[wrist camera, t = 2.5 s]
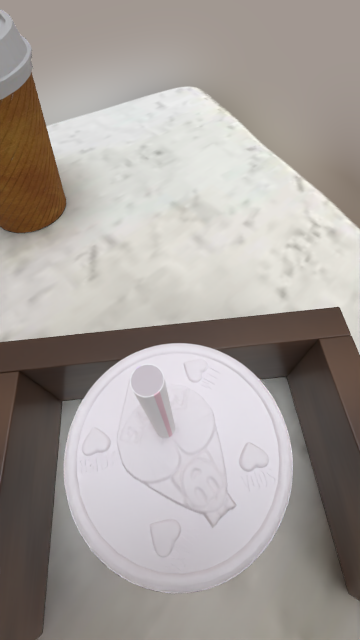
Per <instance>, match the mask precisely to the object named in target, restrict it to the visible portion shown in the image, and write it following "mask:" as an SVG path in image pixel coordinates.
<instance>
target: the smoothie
mask: <svg viewBox="0 0 360 640" xmlns="http://www.w3.org/2000/svg"><path fill="white" fill-rule="evenodd" d="M292 478H293V459H292V449H291V443H290V438H289V434H288V430H287V426H286V424H285V421H284V418H283V416H282V413H281V411H280V409H279V407H278V405H277V403H276V402H275V400H274V398H273V396H272V395H271V394H270V392H269V391H268V389H267V388H266V387H265V385H264V384H263V383H262V382H261V381H260V379H259V378H258V377H257V376H256V375H255V374H254V373H253V372H251V371H250V370H249V369H248V368H247V367H245V366H244V365H243V364H241V363H240V362H238V361H237V360H235V359H234V358H232V357H230V356H228V355H226V354H224V353H222V352H220V351H217V350H215V349H212V348H209V347H205V346H201V345H195V344H186V343H171V344H162V345H157V346H153V347H149V348H146V349H143V350H140V351H138V352H135V353H133V354H131V355H129V356H127V357H126V358H124V359H122V360H121V361H119V362H118V363H116V364H115V365H114V366H112V367H111V368H110V369H109V370H107V371H106V372H105V373H104V374H103V375H102V376H101V377H100V378H99V379H98V380H97V381H96V382H95V383H94V385H93V386H92V387H91V388H90V390H89V391H88V393H87V394H86V396H85V397H84V398H83V400H82V402H81V404H80V406H79V407H78V409H77V412H76V414H75V416H74V418H73V421H72V424H71V426H70V429H69V433H68V437H67V441H66V447H65V454H64V484H65V492H66V497H67V501H68V505H69V508H70V512H71V515H72V517H73V520H74V522H75V524H76V527H77V529H78V530H79V532H80V534H81V536H82V538H83V539H84V541H85V542H86V544H87V545H88V547H89V548H90V550H91V551H92V552H93V553H94V554H95V555H96V556H97V558H98V559H99V560H100V561H101V562H102V563H103V564H105V565H106V566H107V567H108V568H109V569H110V570H112V571H113V572H114V573H116V574H117V575H118V576H120V577H122V578H123V579H125V580H127V581H129V582H131V583H133V584H135V585H138V586H140V587H143V588H146V589H149V590H153V591H157V592H164V593H191V592H198V591H202V590H206V589H210V588H213V587H215V586H218V585H220V584H223V583H225V582H226V581H228V580H230V579H232V578H234V577H235V576H237V575H238V574H240V573H241V572H242V571H244V570H245V569H247V568H248V567H249V566H250V565H251V564H252V563H253V562H254V561H255V560H256V559H257V558H258V557H259V556H260V555H261V554H262V553H263V551H264V550H265V549H266V548H267V546H268V545H269V543H270V542H271V540H272V539H273V537H274V536H275V534H276V532H277V530H278V528H279V527H280V524H281V522H282V519H283V517H284V515H285V512H286V509H287V505H288V502H289V497H290V493H291V487H292Z"/></svg>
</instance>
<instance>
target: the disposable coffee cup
mask: <svg viewBox="0 0 360 640" xmlns="http://www.w3.org/2000/svg"><path fill="white" fill-rule="evenodd" d="M31 58H32V49H31V46H30V44H29V43H28V41H27V40H26V38H24V37H22V36H21V35H20V33H19V32H18V30H17V28H16V26H15V24H14V22H13V21H12V19H11V17H10V15H8V14H7V13H5V12H4V11H3V10H1V9H0V227H2V228H3V229H5V230H8V231H10V232H16V233H25V232H32V231H36V230H39V229H42V228H44V227H46V226H48V225H50V224H51V223H53V222H54V221H55V220H57V219H58V218H59V217H60V215H61V214H62V213H63V211H64V209H65V206H66V198H65V195H64V191H63V188H62V184H61V180H60V176H59V173H58V169H57V165H56V162H55V157H54V154H53V150H52V147H51V143H50V139H49V135H48V131H47V128H46V124H45V120H44V117H43V113H42V110H41V105H40V102H39V99H38V94H37V91H36V87H35V83H34V80H33V77H32V72H31V71H32V67H33V66H32V63H31Z"/></svg>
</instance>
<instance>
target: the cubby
mask: <svg viewBox="0 0 360 640" xmlns="http://www.w3.org/2000/svg"><path fill="white" fill-rule="evenodd" d="M350 335H351V334H350V331H349V329H348V326H347V324H346V322H345V319H344V317H343V315H342V312H341V310H340V308H339V307H334V308H324V309H315V310H305V311H296V312H286V313H277V314H267V315H257V316H248V317H238V318H229V319H219V320H209V321H200V322H190V323H181V324H171V325H162V326H152V327H142V328H133V329H123V330H114V331H104V332H95V333H85V334H75V335H66V336H56V337H47V338H37V339H28V340H18V341H8V342H0V640H36V639H37V638H38V637H39V636H40V635H41V634H42V632H43V620H44V608H45V597H46V585H47V573H48V561H49V549H50V537H51V526H52V514H53V502H54V490H55V478H56V466H57V455H58V443H59V431H60V419H61V407H62V401H65V400H74V399H83V398H84V397H85V396H86V394H87V393H88V391H89V390H90V388H91V387H92V386H93V385H94V383H95V382H96V381H97V380H98V379H99V378H100V377H101V376H102V375H103V374H104V373H105V372H106V371H107V370H109V369H110V368H111V367H112V366H114V365H115V364H116V363H118V362H119V361H121V360H122V359H124V358H126V357H127V356H129V355H131V354H133V353H135V352H138V351H140V350H143V349H146V348H149V347H153V346H157V345H162V344H171V343H186V344H195V345H201V346H205V347H209V348H212V349H215V350H217V351H220V352H222V353H224V354H226V355H228V356H230V357H232V358H234V359H235V360H237V361H238V362H240V363H241V364H243V365H244V366H245V367H247V368H248V369H249V370H250V371H251V372H253V373H254V374H255V375H256V376H257V377H258V378H259V379H265V378H274V377H283V376H287V379H288V383H289V386H290V390H291V393H292V397H293V400H294V404H295V407H296V411H297V414H298V418H299V421H300V425H301V428H302V432H303V435H304V439H305V442H306V446H307V449H308V453H309V456H310V460H311V463H312V467H313V470H314V474H315V477H316V481H317V484H318V488H319V491H320V495H321V498H322V502H323V505H324V509H325V512H326V516H327V519H328V523H329V526H330V530H331V533H332V537H333V540H334V544H335V547H336V551H337V554H338V558H339V561H340V565H341V568H342V572H343V575H344V579H345V582H346V586H347V589H348V593H349V594H350V595H351V596H353V597H355V598H356V599H358V600H359V601H360V355H359V352H358V350H357V348H356V345H355V343H354V341H353V338H352V336H350Z"/></svg>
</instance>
